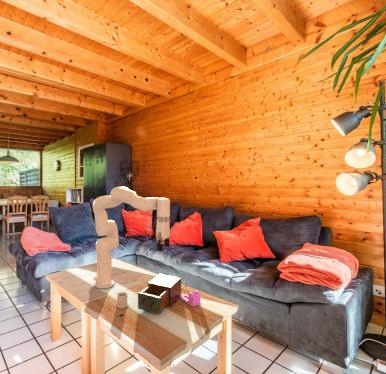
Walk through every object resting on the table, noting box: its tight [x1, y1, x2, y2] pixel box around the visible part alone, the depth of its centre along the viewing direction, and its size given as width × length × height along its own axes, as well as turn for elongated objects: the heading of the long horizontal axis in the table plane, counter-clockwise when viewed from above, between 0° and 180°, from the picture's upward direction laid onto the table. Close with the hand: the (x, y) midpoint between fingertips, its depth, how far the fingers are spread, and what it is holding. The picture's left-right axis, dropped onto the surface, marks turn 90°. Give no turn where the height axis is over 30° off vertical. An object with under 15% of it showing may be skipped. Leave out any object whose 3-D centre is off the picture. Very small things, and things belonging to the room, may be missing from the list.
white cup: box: [116, 291, 128, 309], centre depth 143 cm, size 6×6×6 cm
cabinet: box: [147, 273, 182, 307], centre depth 152 cm, size 16×15×11 cm
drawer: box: [137, 285, 170, 316], centre depth 139 cm, size 19×13×9 cm
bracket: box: [179, 290, 201, 307], centre depth 149 cm, size 13×6×7 cm, turn 34°
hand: (163, 248), depth 149 cm, fingers open, 9 cm apart
